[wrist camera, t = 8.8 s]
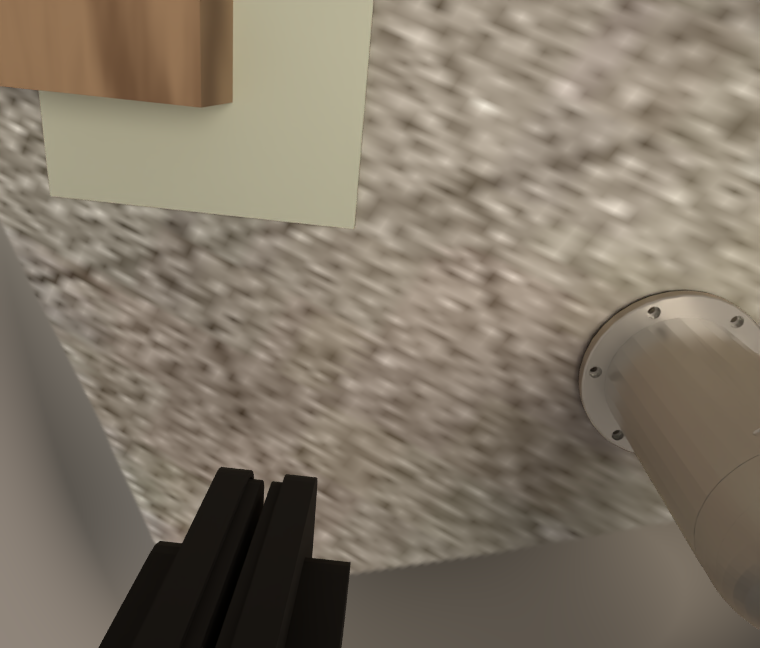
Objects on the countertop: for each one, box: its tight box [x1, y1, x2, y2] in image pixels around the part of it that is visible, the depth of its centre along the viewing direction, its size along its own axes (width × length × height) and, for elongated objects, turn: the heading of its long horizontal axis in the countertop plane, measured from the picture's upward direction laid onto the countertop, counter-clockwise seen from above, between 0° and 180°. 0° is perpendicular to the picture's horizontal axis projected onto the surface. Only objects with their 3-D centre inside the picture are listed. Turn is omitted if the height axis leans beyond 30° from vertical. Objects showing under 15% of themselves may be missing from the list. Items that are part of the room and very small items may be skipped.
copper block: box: [0, 0, 233, 108], centre depth 33 cm, size 6×6×12 cm
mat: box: [39, 0, 374, 229], centre depth 36 cm, size 20×20×1 cm
